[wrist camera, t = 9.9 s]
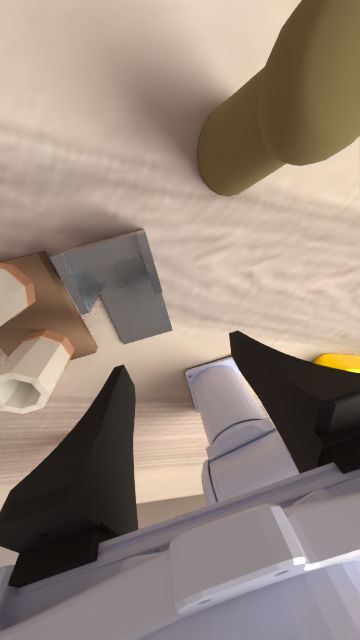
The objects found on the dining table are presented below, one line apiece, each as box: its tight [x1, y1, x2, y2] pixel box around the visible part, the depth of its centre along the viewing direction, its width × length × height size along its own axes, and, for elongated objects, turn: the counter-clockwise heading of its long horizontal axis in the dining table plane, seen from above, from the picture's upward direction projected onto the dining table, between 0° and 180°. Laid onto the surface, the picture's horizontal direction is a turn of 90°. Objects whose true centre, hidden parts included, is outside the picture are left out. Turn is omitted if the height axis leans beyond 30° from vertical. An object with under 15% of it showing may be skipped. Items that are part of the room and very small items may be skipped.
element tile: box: [313, 353, 360, 373], centre depth 33 cm, size 15×15×5 cm
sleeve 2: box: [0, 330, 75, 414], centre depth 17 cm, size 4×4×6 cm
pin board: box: [0, 251, 98, 360], centre depth 17 cm, size 11×8×4 cm
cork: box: [197, 0, 360, 196], centre depth 11 cm, size 6×6×11 cm
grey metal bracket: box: [50, 229, 172, 344], centre depth 17 cm, size 11×6×6 cm, turn 13°
